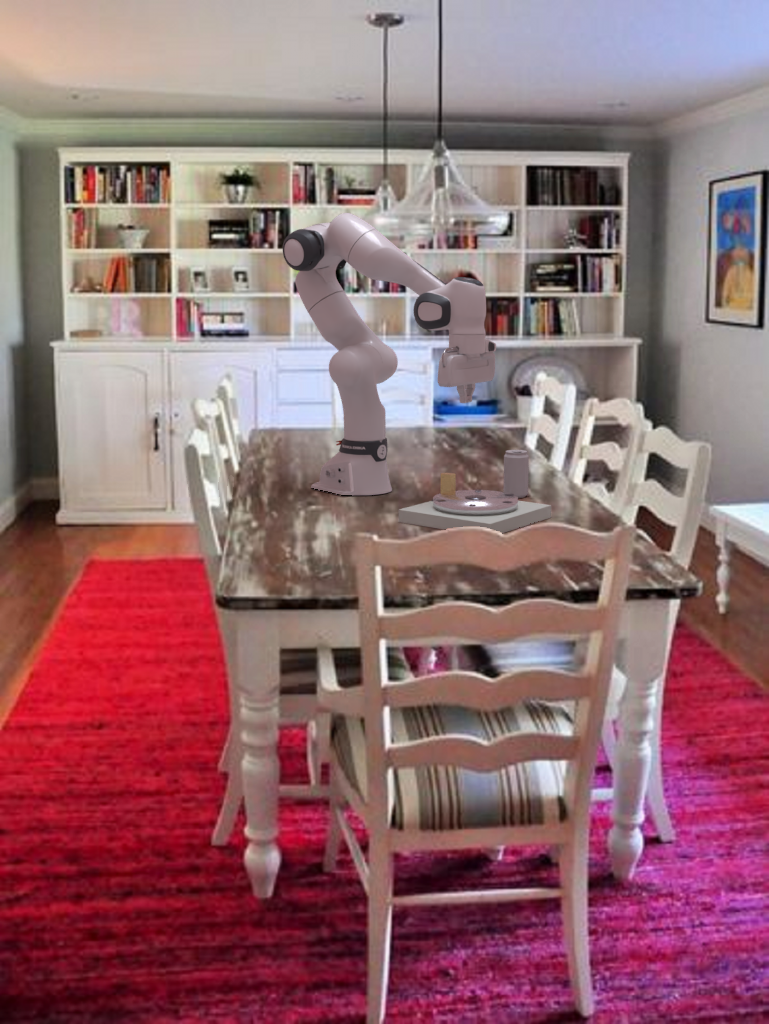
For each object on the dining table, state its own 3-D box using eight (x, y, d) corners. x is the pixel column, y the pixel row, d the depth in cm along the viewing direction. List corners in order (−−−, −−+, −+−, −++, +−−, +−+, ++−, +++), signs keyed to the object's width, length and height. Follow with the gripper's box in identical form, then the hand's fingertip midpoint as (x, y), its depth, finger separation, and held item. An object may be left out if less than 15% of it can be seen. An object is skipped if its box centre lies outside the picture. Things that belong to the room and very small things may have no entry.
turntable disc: (454, 517, 274) (455, 487, 273) (420, 501, 292) (420, 473, 291) (533, 510, 281) (533, 481, 280) (494, 495, 299) (494, 467, 298)
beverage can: (508, 499, 311) (509, 453, 309) (499, 494, 317) (500, 449, 315) (531, 497, 313) (532, 452, 310) (522, 493, 319) (523, 448, 317)
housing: (398, 522, 286) (398, 508, 285) (462, 504, 305) (462, 491, 305) (490, 537, 270) (490, 522, 269) (551, 517, 289) (551, 504, 289)
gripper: (453, 349, 283) (452, 407, 286) (500, 344, 299) (498, 399, 302) (431, 347, 287) (430, 405, 290) (478, 342, 303) (477, 397, 306)
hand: (465, 402), depth 296 cm, fingers closed
